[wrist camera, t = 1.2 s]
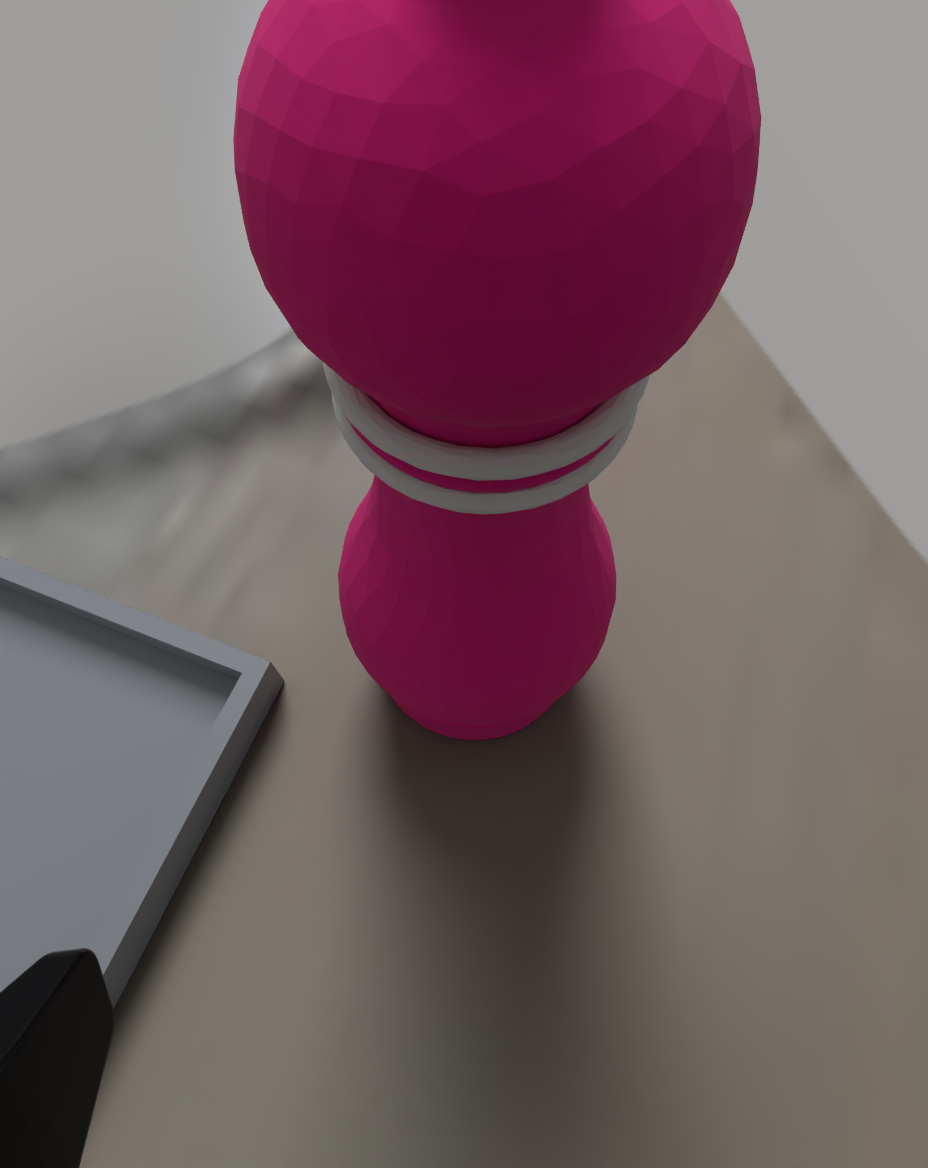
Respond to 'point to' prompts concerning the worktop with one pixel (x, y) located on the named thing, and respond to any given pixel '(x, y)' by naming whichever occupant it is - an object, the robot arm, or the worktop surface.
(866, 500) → the worktop surface
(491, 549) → the pink bowling pin
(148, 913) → the slate tray
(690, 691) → the worktop surface
